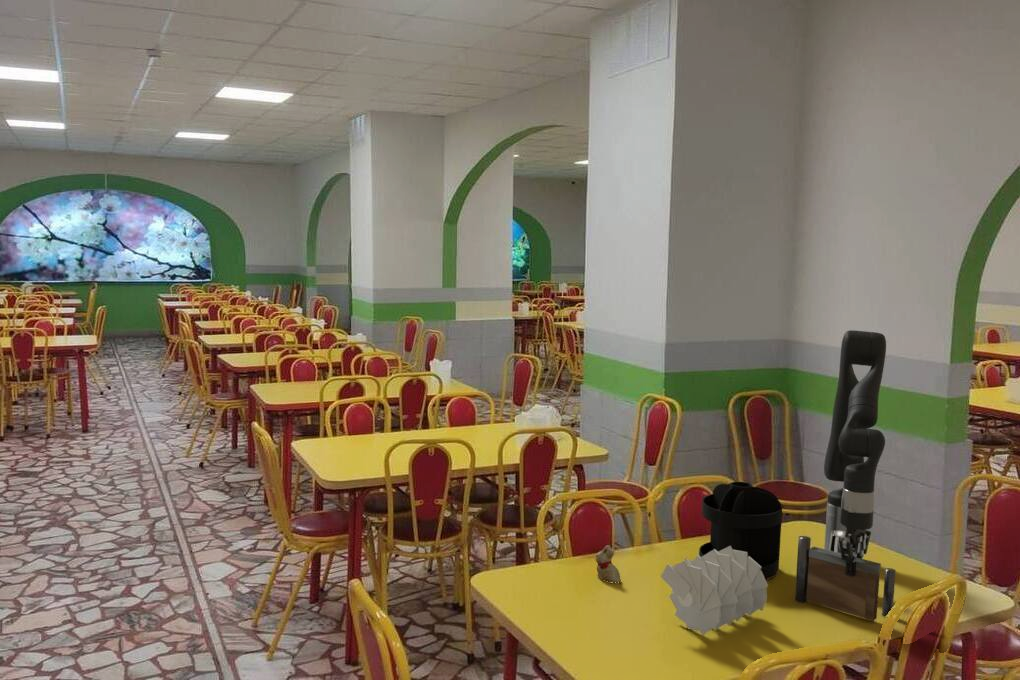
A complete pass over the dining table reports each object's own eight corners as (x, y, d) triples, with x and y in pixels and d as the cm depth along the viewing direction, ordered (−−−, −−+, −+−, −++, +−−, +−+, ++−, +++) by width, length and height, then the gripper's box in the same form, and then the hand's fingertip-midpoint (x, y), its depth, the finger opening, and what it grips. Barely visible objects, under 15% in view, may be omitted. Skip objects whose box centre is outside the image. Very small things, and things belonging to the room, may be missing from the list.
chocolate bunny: (611, 573, 240) (613, 538, 239) (622, 583, 233) (624, 548, 232) (593, 574, 239) (594, 540, 238) (604, 585, 231) (605, 549, 230)
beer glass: (855, 593, 230) (859, 539, 229) (828, 590, 232) (832, 536, 230) (851, 583, 237) (854, 531, 236) (824, 581, 238) (828, 528, 237)
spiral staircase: (756, 631, 214) (696, 654, 198) (706, 582, 226) (645, 600, 210) (790, 576, 207) (730, 595, 191) (737, 528, 219) (676, 543, 203)
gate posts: (795, 597, 226) (799, 535, 225) (892, 614, 217) (896, 549, 215) (794, 601, 223) (798, 538, 222) (892, 618, 214) (897, 553, 213)
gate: (810, 598, 224) (814, 546, 223) (876, 618, 212) (880, 563, 211) (805, 601, 222) (809, 549, 220) (872, 621, 210) (876, 566, 209)
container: (744, 551, 261) (748, 471, 258) (793, 578, 240) (799, 492, 237) (682, 559, 253) (686, 476, 251) (727, 587, 232) (732, 497, 229)
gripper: (854, 498, 220) (850, 563, 222) (830, 509, 210) (826, 577, 212) (883, 504, 215) (879, 571, 217) (860, 516, 205) (856, 585, 207)
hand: (853, 573), depth 214 cm, fingers closed on gate, 3 cm apart
